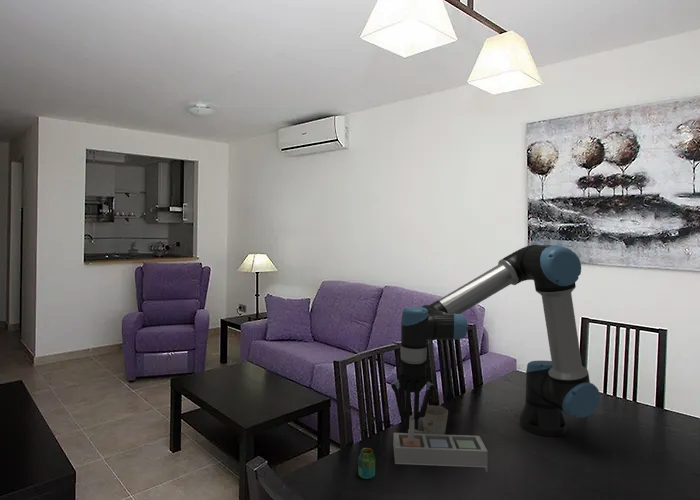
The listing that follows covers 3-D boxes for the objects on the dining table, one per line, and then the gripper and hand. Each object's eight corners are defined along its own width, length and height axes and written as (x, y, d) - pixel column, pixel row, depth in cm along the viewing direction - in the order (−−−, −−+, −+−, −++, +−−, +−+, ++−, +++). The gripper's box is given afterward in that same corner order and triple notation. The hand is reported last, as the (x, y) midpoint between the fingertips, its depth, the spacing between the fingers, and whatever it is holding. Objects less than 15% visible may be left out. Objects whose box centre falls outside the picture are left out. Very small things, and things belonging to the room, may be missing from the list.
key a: (472, 448, 140) (472, 440, 140) (476, 456, 135) (476, 448, 135) (455, 447, 140) (455, 439, 140) (458, 455, 135) (459, 447, 135)
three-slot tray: (478, 453, 143) (479, 435, 142) (487, 472, 132) (488, 452, 131) (393, 450, 144) (393, 432, 144) (394, 468, 133) (395, 448, 133)
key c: (418, 446, 140) (419, 438, 140) (420, 454, 135) (420, 446, 135) (402, 445, 141) (402, 437, 140) (403, 453, 136) (403, 445, 135)
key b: (445, 447, 140) (445, 439, 140) (448, 455, 135) (448, 447, 135) (428, 446, 140) (429, 438, 140) (431, 454, 135) (431, 446, 135)
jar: (357, 475, 129) (357, 446, 129) (373, 474, 129) (374, 446, 129) (358, 484, 124) (359, 455, 124) (376, 483, 125) (376, 454, 124)
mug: (447, 448, 146) (448, 416, 146) (406, 443, 149) (407, 412, 148) (447, 436, 154) (448, 406, 154) (409, 432, 157) (409, 403, 156)
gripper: (434, 357, 140) (431, 434, 141) (390, 356, 141) (388, 433, 142) (437, 364, 133) (434, 446, 134) (391, 363, 133) (389, 444, 134)
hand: (410, 439), depth 138 cm, fingers closed
